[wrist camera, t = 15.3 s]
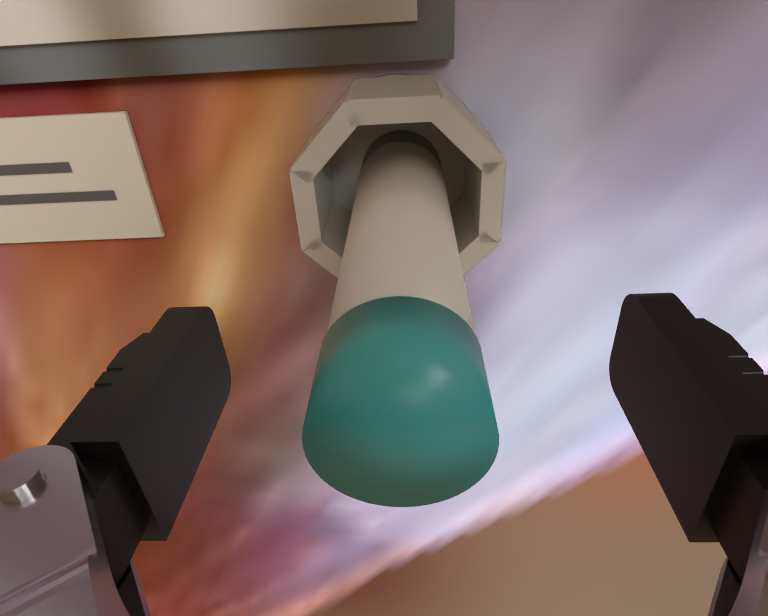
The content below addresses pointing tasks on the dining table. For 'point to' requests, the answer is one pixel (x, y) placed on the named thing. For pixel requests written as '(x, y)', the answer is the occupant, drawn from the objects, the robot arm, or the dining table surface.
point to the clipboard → (213, 36)
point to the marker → (400, 345)
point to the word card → (73, 180)
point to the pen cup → (367, 123)
